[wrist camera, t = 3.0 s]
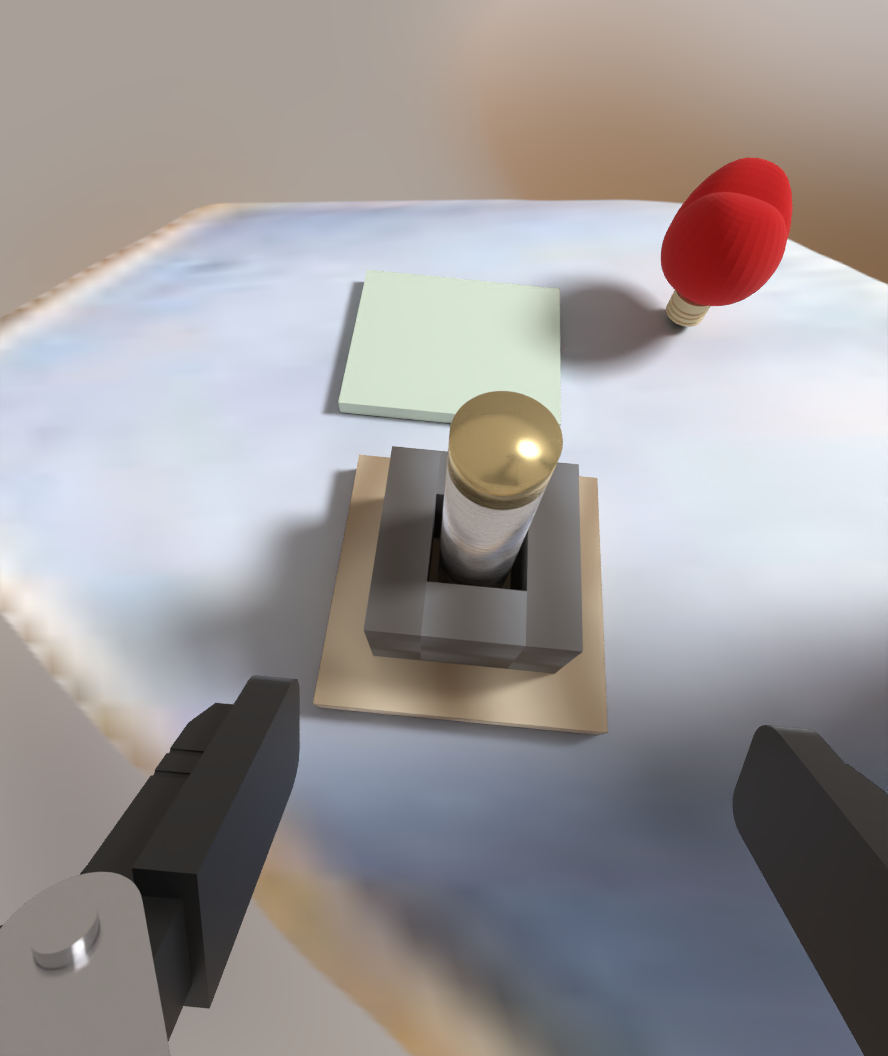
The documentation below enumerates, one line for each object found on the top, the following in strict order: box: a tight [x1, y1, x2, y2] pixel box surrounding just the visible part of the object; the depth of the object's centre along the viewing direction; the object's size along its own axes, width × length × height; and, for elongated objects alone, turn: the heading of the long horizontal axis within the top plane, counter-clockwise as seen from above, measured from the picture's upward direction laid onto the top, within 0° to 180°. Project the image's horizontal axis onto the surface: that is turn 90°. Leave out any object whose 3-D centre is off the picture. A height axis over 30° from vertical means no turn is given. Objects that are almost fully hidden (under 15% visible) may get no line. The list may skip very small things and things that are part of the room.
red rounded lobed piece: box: [661, 158, 792, 326], centre depth 34 cm, size 9×7×10 cm
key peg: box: [437, 391, 563, 589], centre depth 22 cm, size 4×4×13 cm
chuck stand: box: [313, 446, 608, 735], centre depth 27 cm, size 14×14×6 cm
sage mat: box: [338, 270, 561, 426], centre depth 36 cm, size 14×12×1 cm
